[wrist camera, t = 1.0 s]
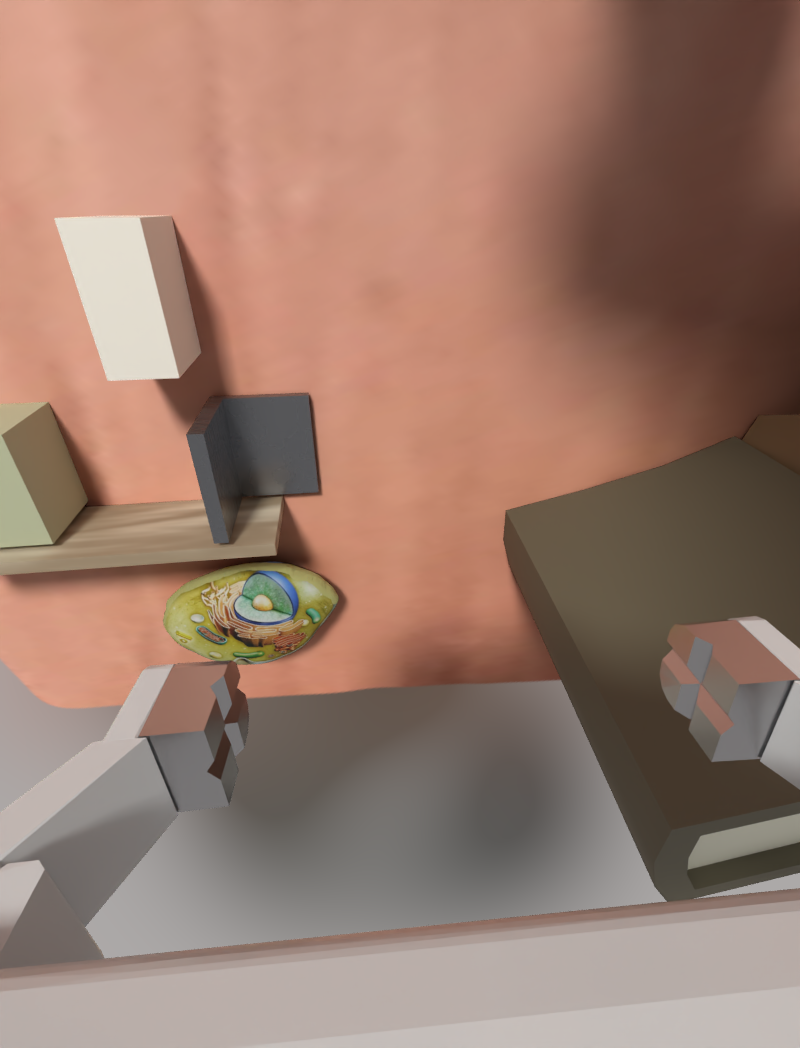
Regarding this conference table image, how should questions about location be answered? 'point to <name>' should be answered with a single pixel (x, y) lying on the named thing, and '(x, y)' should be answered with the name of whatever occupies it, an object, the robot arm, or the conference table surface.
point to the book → (669, 647)
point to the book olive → (35, 477)
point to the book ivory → (133, 293)
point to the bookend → (251, 452)
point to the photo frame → (777, 439)
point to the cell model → (249, 612)
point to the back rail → (150, 537)
